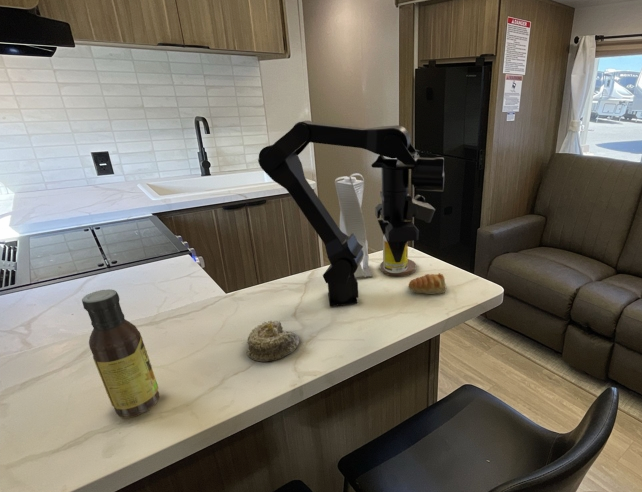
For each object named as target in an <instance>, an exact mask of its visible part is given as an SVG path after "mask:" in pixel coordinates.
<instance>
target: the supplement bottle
mask: <svg viewBox="0 0 642 492" xmlns="http://www.w3.org/2000/svg"><path fill="white" fill-rule="evenodd" d="M408 245H409V241H408V242H407V243H406V245H405V248H404V252H403V255H402V258H401V261H400V262H395V260H394V257H393V255H392V252H391V250H390V247H389V245H388V242H387V240H386V237H385V235H383V236H382V262H383V267H384V269H385V270H386V271H387V272H390V273H401V272H404V271H405V270H406V269H407V265H408V259H409V258H408V257H409V255H408V252H409V246H408Z"/></svg>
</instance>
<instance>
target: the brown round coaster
mask: <svg viewBox="0 0 642 492" xmlns="http://www.w3.org/2000/svg"><path fill="white" fill-rule="evenodd" d="M416 270H417V265H416V262H415V261H414V260H412V259H410V258H408V265H407V269H406V270H405V271H404V272H401V273H390V272H387V271H386V270H385V269H384V267H383V261H381V263H380V272H382V274H384V275H386V276H390V277H406V276H411V275H413V274H414V273H415V272H416Z"/></svg>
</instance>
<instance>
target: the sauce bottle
mask: <svg viewBox="0 0 642 492" xmlns="http://www.w3.org/2000/svg"><path fill="white" fill-rule="evenodd" d="M81 303H82V306H83V309H84V310H85V311H87V314H88V317H89V319H90V323H91V324H90V325H91V326H92V328H93V329H92V331H91V333H90V335H89V340H88V346H89V349H90V352H91V354H92V359H93V361H94V362H93V363H94V364H95V367H96V369H97V372H98V374H99V376H100V380H101V382H102V385H103V388H104V389H105V392H106V394H107V397H108V399H109V402H110V405H111V406H112V407H113V410H114V412H115V413H116V415H118V417H120V418H133V417H137V416H139V415H142V414H144V413H146V412H148V411H150V409H152V408H153V407H154V406H156V405H157V403H158V402H159V400H160V392H159V385H158V381H157V378H156V376H155V372H154V370H153V366H152V363H151V360H150V357H149V354H148V351H147V348H146V345H145V343H144V340H143V337H142V334H141V332H140V330H139V329H138V328H137V326H136V325H134V323H132V322H130V321H128V320H127V319H126V318H125V313H124V312H123V310H122V307H121V304H120V295H119V293H118V292H117V290H115V289H110V288H109V289H100V290H96V291H92V292H90V293H88V294H86V295H84V296H83V297H82V299H81Z"/></svg>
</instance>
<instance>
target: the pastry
mask: <svg viewBox="0 0 642 492" xmlns="http://www.w3.org/2000/svg"><path fill="white" fill-rule="evenodd" d="M445 279H446V278H445V276H444V274H443V273H441V272H440V273H437V274H436V273H431V274H430V273H427V274H424V275H422V276H420V277H416V278H414V279H410V281H409V283H408V289H409V290H410V291H412V292H414V293H415V294H424V295H425V294H426V295H428V294H429V295H434V294H438V295H439V294H443V293H445V292H446V291H447V283H446V280H445Z"/></svg>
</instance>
